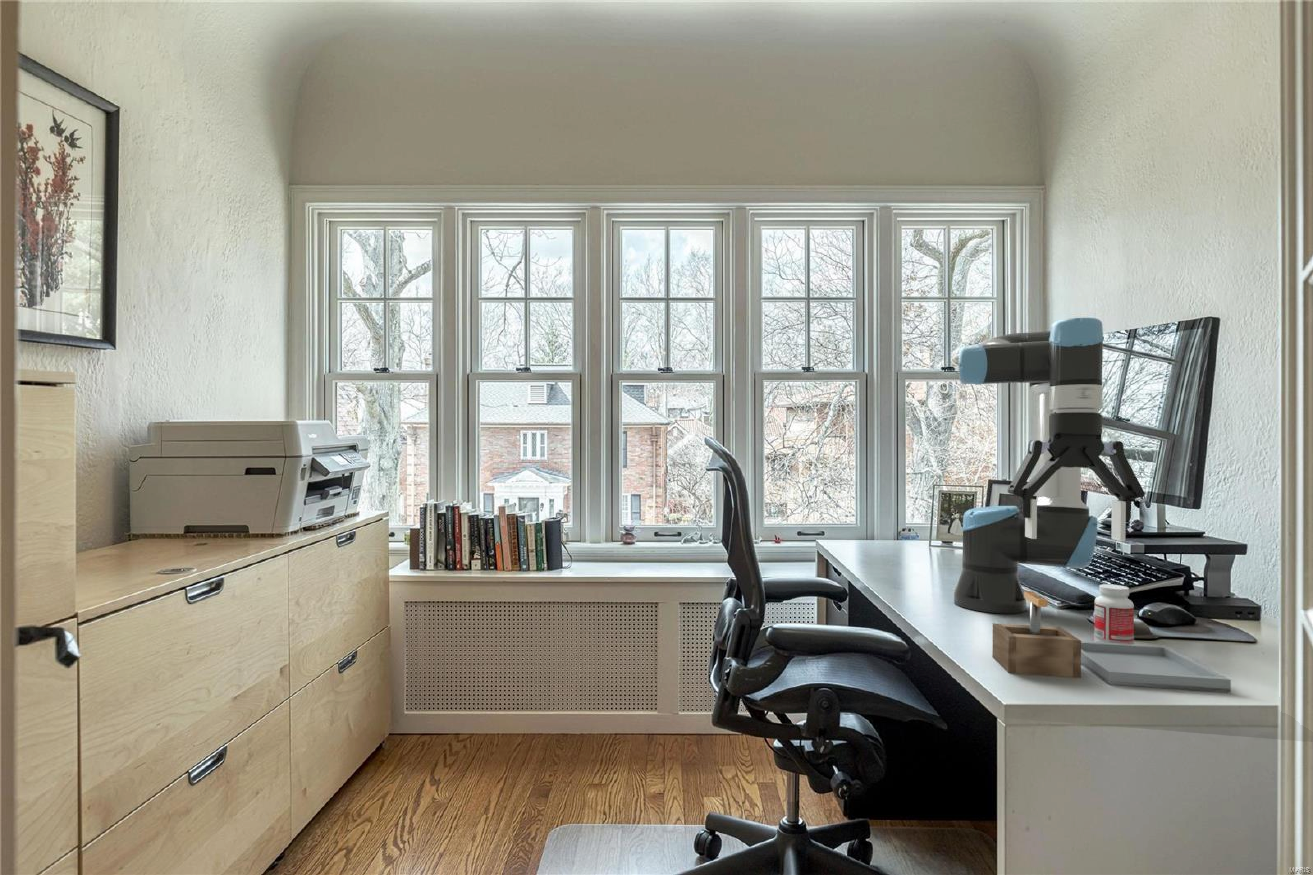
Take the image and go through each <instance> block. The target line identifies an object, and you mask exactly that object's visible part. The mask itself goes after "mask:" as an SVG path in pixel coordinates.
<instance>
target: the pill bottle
mask: <svg viewBox="0 0 1313 875" xmlns="http://www.w3.org/2000/svg"><path fill="white" fill-rule="evenodd" d="M1098 586H1099V588H1098V589H1099V590H1098V592H1099V594H1100V595H1098V596H1096V598H1094V628H1093V629H1094V642H1103V643H1120V644H1135V635H1134V634H1135V630H1134V629H1135V626H1134V625H1135V608H1134V607H1135V605H1134V603H1133V601H1132V600H1131V599H1129V598H1128V597H1129V596H1130V588H1129V587H1128V586H1125V585H1120V584H1119V585H1118V584H1107V583H1106V584H1105V583H1104V584H1100V585H1098Z"/></svg>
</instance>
